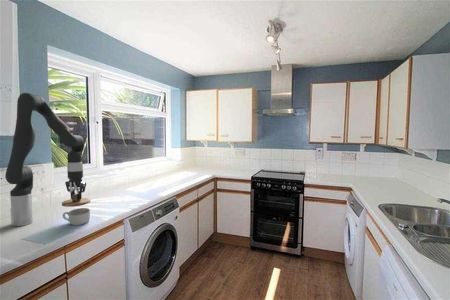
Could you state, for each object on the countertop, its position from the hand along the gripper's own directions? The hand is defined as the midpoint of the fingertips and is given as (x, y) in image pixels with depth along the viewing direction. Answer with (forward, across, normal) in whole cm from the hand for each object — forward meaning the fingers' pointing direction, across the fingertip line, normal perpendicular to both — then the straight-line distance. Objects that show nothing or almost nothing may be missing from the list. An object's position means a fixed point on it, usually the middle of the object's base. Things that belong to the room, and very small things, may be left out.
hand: (76, 199), depth 136 cm
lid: (+2, 0, 0) cm, 2 cm away
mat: (+15, +2, -17) cm, 23 cm away
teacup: (+15, 0, 0) cm, 15 cm away
